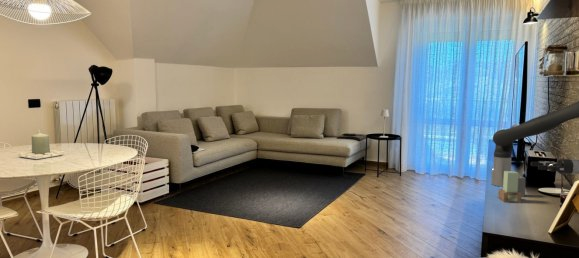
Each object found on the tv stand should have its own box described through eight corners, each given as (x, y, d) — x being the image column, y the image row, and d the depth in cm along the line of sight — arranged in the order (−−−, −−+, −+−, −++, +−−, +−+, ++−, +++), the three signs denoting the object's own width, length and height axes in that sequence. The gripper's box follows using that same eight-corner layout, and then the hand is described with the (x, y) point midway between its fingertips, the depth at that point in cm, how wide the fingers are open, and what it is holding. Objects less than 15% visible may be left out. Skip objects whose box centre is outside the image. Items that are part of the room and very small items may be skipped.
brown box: (503, 202, 201) (504, 193, 200) (498, 198, 209) (498, 189, 208) (521, 203, 200) (521, 193, 199) (514, 198, 208) (514, 189, 207)
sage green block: (506, 192, 201) (507, 172, 200) (503, 190, 206) (503, 171, 205) (517, 192, 201) (518, 173, 200) (513, 190, 206) (514, 171, 205)
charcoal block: (514, 196, 211) (515, 178, 210) (511, 194, 216) (511, 176, 215) (524, 196, 210) (525, 178, 209) (520, 194, 215) (521, 176, 214)
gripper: (563, 156, 203) (529, 155, 206) (578, 162, 189) (541, 161, 192) (562, 171, 204) (528, 169, 207) (577, 177, 190) (540, 176, 193)
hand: (534, 165), depth 199 cm, fingers open, 8 cm apart
